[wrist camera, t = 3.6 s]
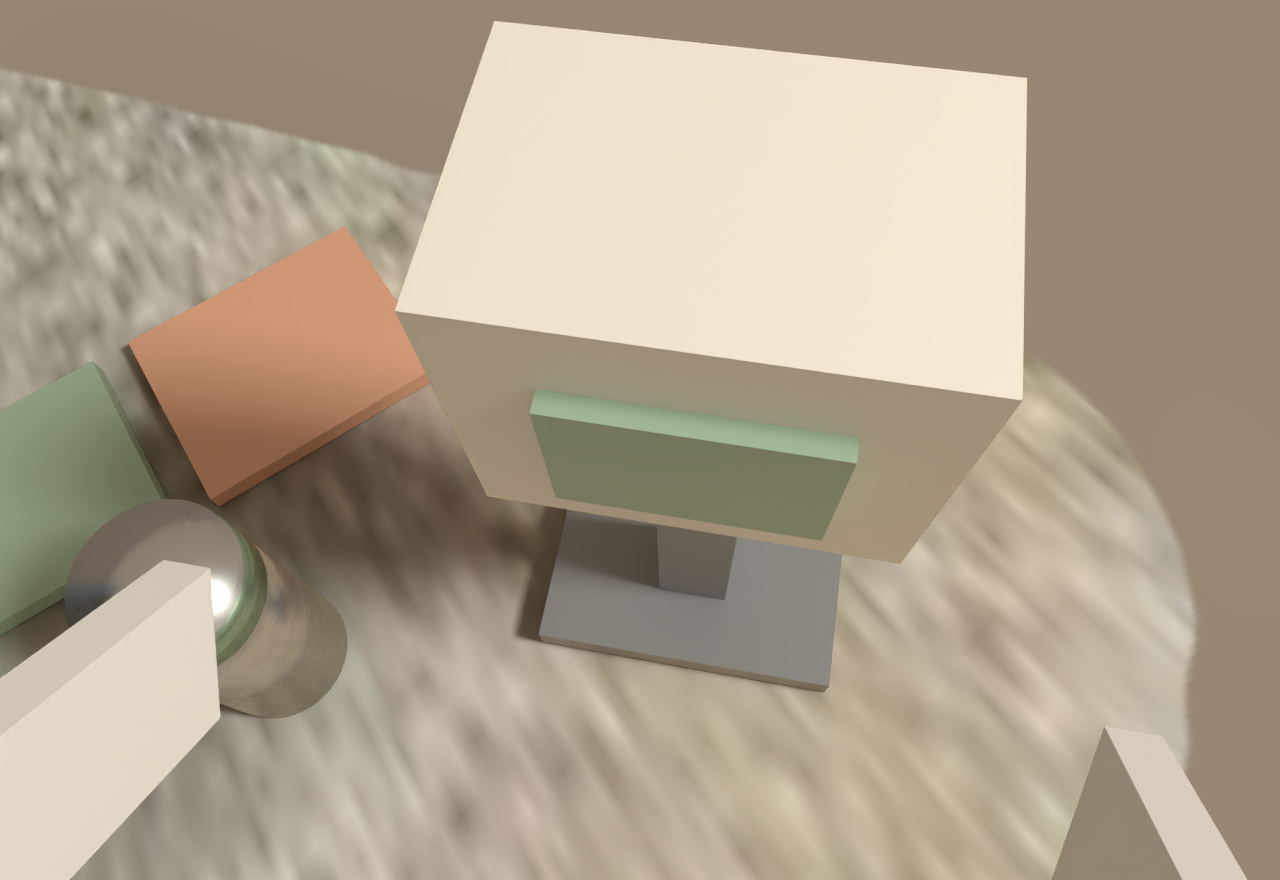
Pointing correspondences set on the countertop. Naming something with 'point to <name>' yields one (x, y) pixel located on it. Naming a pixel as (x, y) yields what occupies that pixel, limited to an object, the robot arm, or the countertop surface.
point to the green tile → (62, 485)
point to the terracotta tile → (280, 364)
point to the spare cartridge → (223, 603)
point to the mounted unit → (722, 324)
